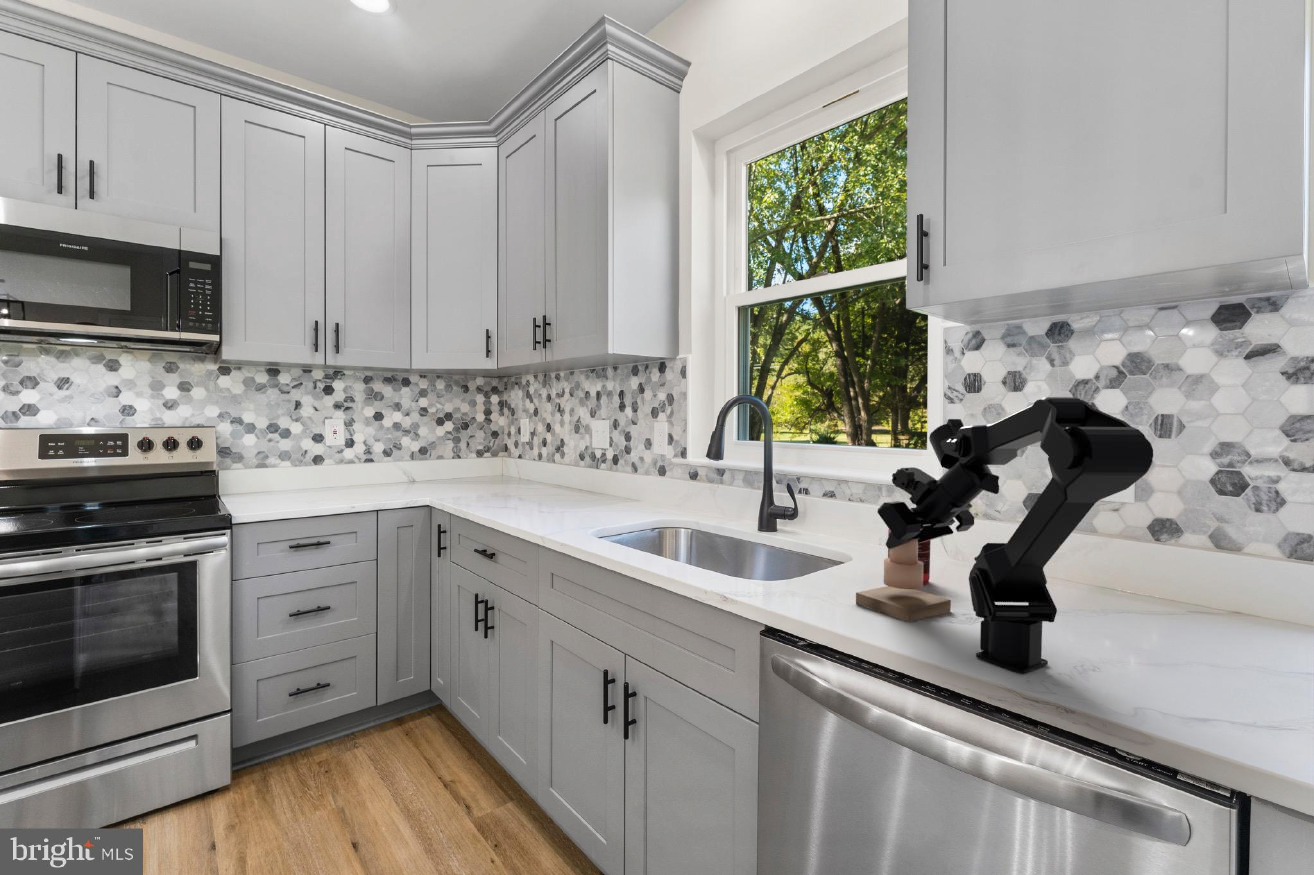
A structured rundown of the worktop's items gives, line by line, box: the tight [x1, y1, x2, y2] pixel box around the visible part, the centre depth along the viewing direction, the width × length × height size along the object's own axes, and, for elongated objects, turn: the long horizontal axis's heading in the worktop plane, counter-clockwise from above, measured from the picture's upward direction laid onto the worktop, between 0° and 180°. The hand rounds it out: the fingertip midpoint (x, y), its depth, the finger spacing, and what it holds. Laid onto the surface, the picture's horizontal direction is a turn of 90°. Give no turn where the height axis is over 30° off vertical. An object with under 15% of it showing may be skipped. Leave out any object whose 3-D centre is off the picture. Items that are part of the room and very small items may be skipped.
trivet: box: [855, 585, 952, 623], centre depth 106 cm, size 11×11×2 cm
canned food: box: [887, 528, 932, 586], centre depth 124 cm, size 8×8×11 cm
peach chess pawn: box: [883, 531, 924, 590], centre depth 106 cm, size 6×6×11 cm
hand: (897, 545), depth 107 cm, fingers closed on peach chess pawn, 5 cm apart
